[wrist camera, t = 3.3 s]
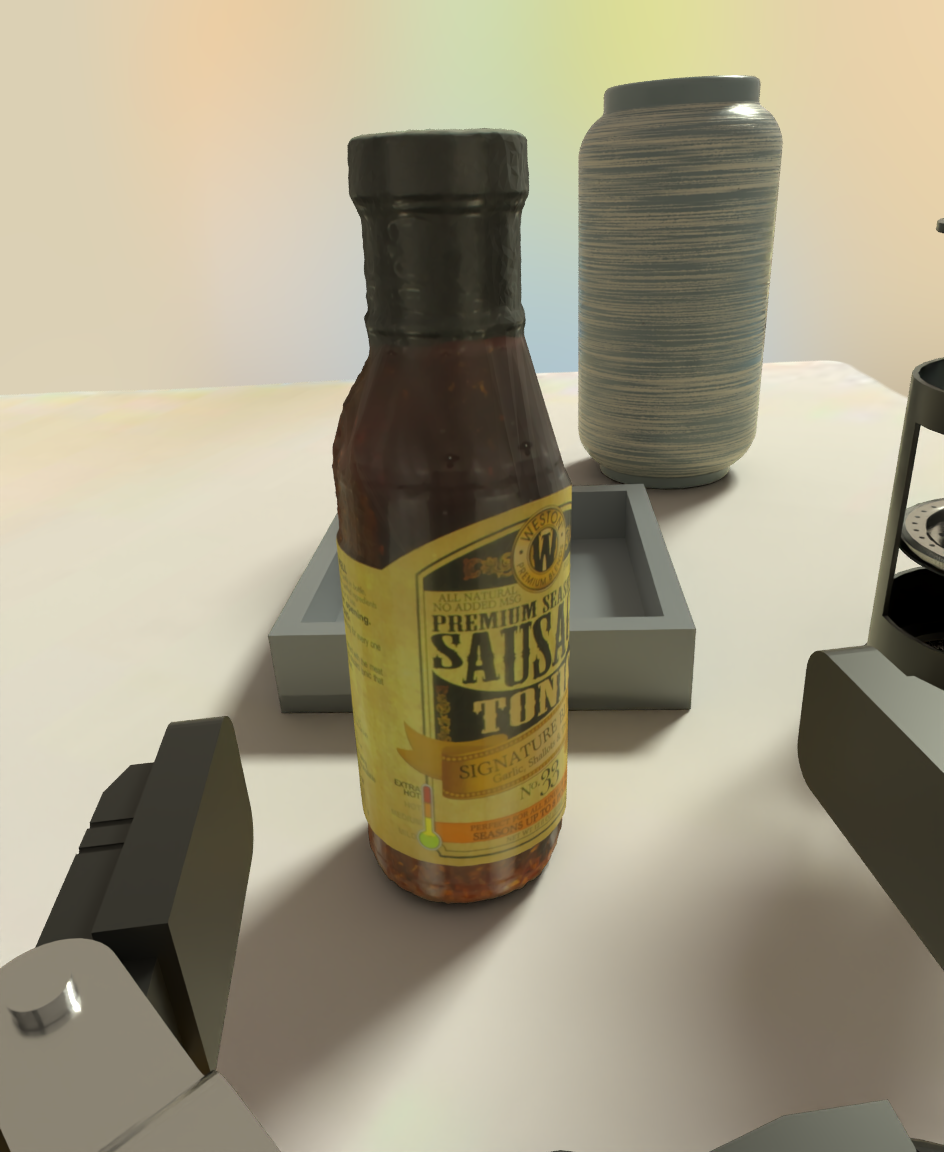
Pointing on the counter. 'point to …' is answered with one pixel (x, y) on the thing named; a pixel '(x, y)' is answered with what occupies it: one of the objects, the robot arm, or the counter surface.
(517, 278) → the sauce bottle
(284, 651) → the tray
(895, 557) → the french press
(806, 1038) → the counter surface
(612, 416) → the vase
